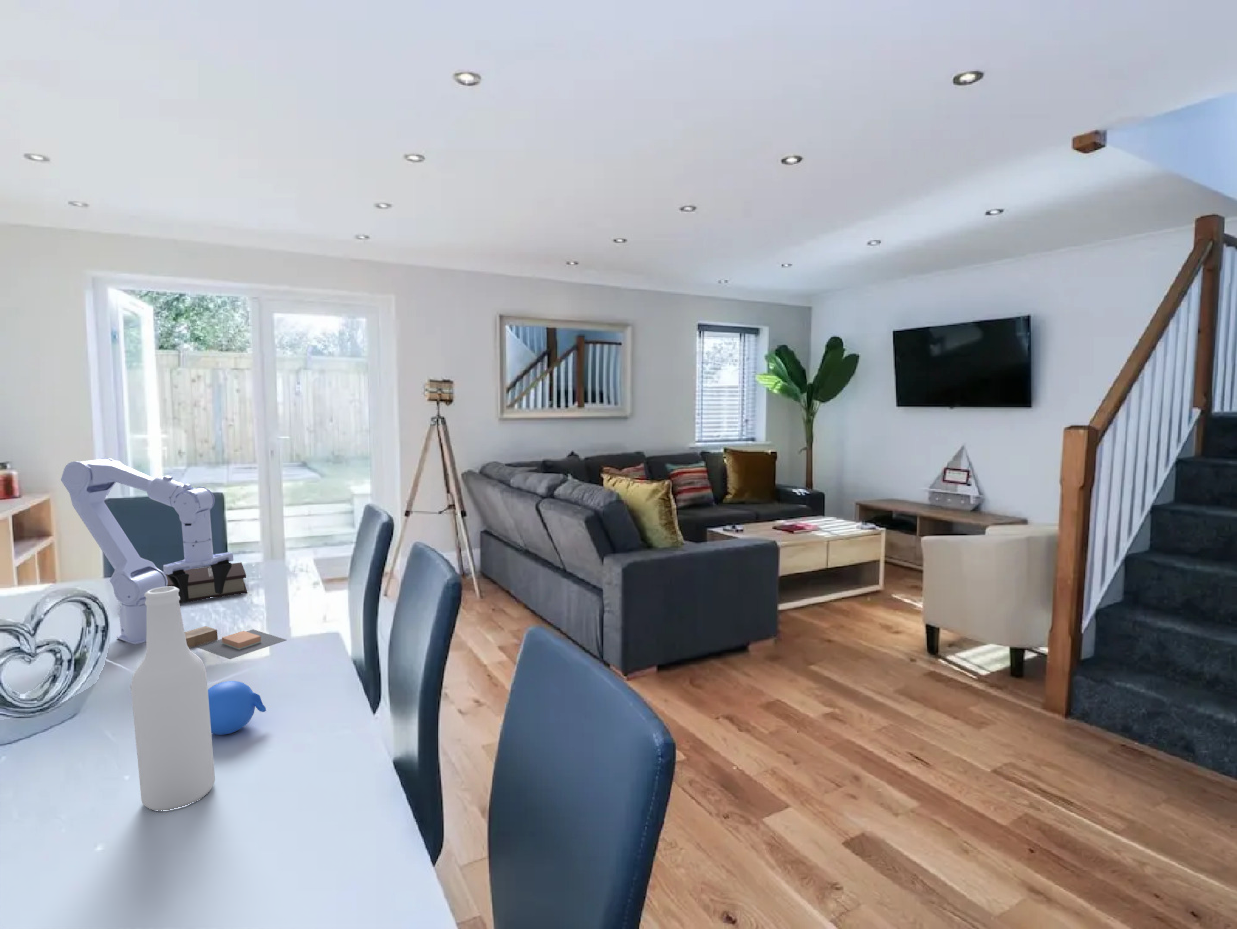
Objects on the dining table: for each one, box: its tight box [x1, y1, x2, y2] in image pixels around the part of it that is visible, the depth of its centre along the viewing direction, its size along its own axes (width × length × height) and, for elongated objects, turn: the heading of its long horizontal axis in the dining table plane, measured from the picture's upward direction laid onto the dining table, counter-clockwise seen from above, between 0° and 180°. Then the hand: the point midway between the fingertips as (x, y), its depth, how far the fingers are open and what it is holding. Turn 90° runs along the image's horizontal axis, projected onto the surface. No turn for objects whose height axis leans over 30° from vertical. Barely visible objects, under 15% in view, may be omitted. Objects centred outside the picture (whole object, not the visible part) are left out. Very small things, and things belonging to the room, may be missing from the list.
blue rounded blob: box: [208, 680, 267, 736], centre depth 116 cm, size 12×12×8 cm
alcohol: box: [130, 586, 216, 811], centre depth 94 cm, size 9×9×30 cm
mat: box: [196, 629, 287, 660], centre depth 154 cm, size 14×13×1 cm
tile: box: [221, 630, 261, 650], centre depth 154 cm, size 2×5×7 cm
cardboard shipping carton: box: [184, 625, 219, 649], centre depth 154 cm, size 5×3×10 cm
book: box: [165, 561, 248, 604], centre depth 196 cm, size 28×20×6 cm
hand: (202, 597), depth 158 cm, fingers open, 7 cm apart
